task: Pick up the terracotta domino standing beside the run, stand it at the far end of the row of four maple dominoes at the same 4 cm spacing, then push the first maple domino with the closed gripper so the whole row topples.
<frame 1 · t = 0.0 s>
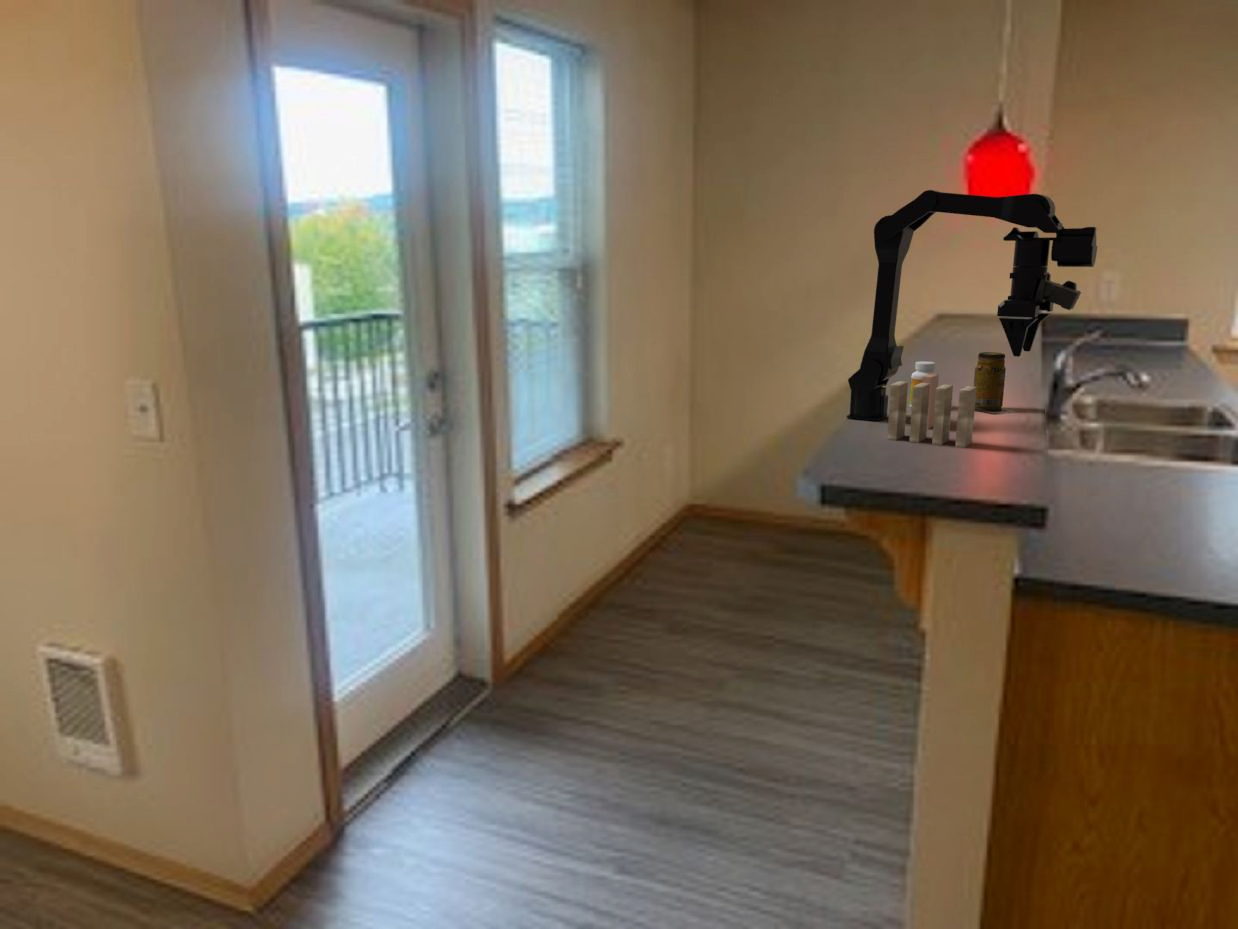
hand: (1022, 353, 169), 15 cm above the countertop, fingers open, 9 cm apart
supplement bottle: (922, 408, 199), on the countertop
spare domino: (927, 426, 178), on the countertop
domino 3: (940, 442, 164), on the countertop
domino 4: (963, 444, 162), on the countertop
condiment: (989, 411, 195), on the countertop
domino 1: (896, 437, 169), on the countertop
domino 2: (917, 439, 167), on the countertop
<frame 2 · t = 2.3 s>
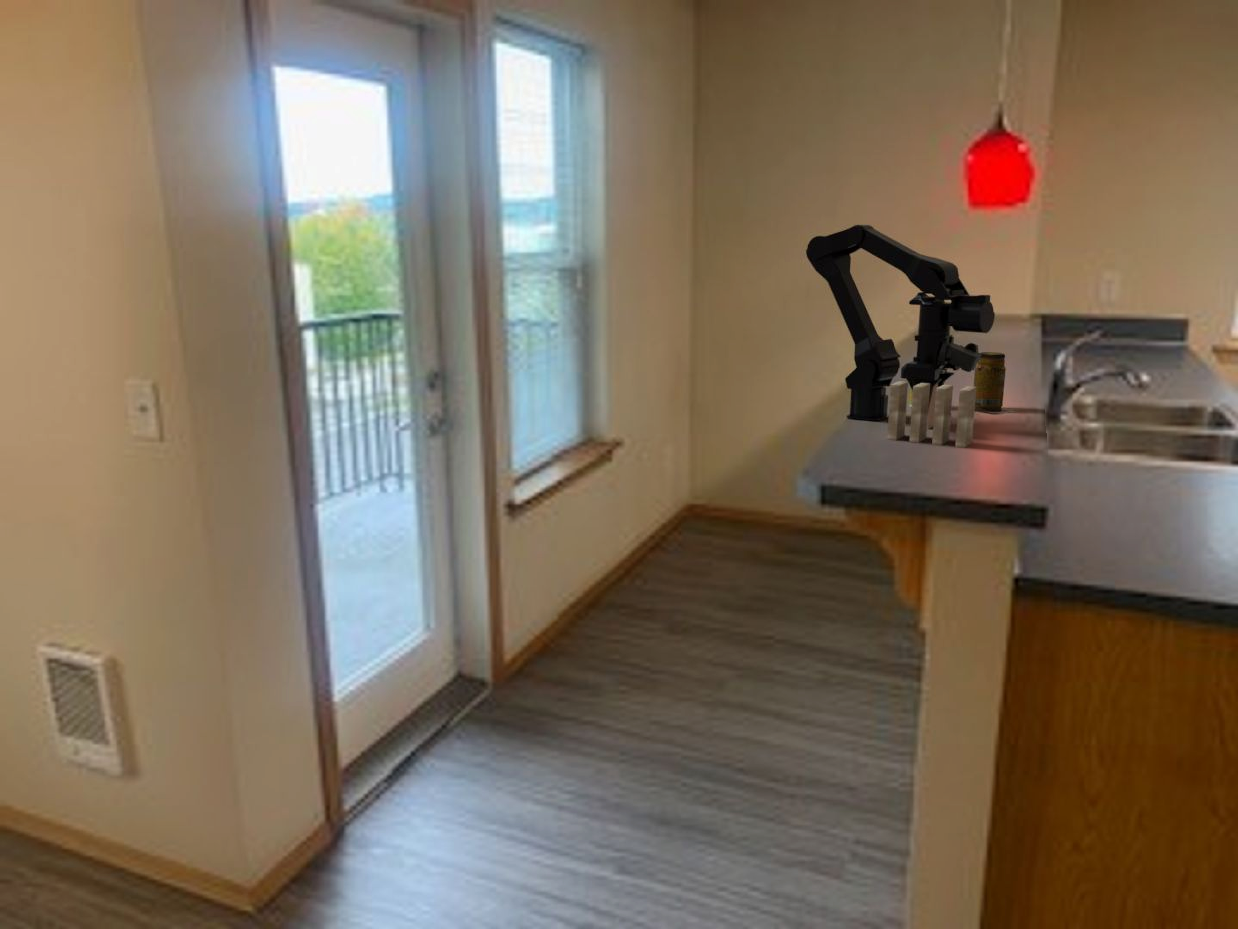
hand: (928, 411, 178), 3 cm above the countertop, fingers closed on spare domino, 5 cm apart
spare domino: (927, 426, 178), on the countertop, touching gripper
everything else where it was.
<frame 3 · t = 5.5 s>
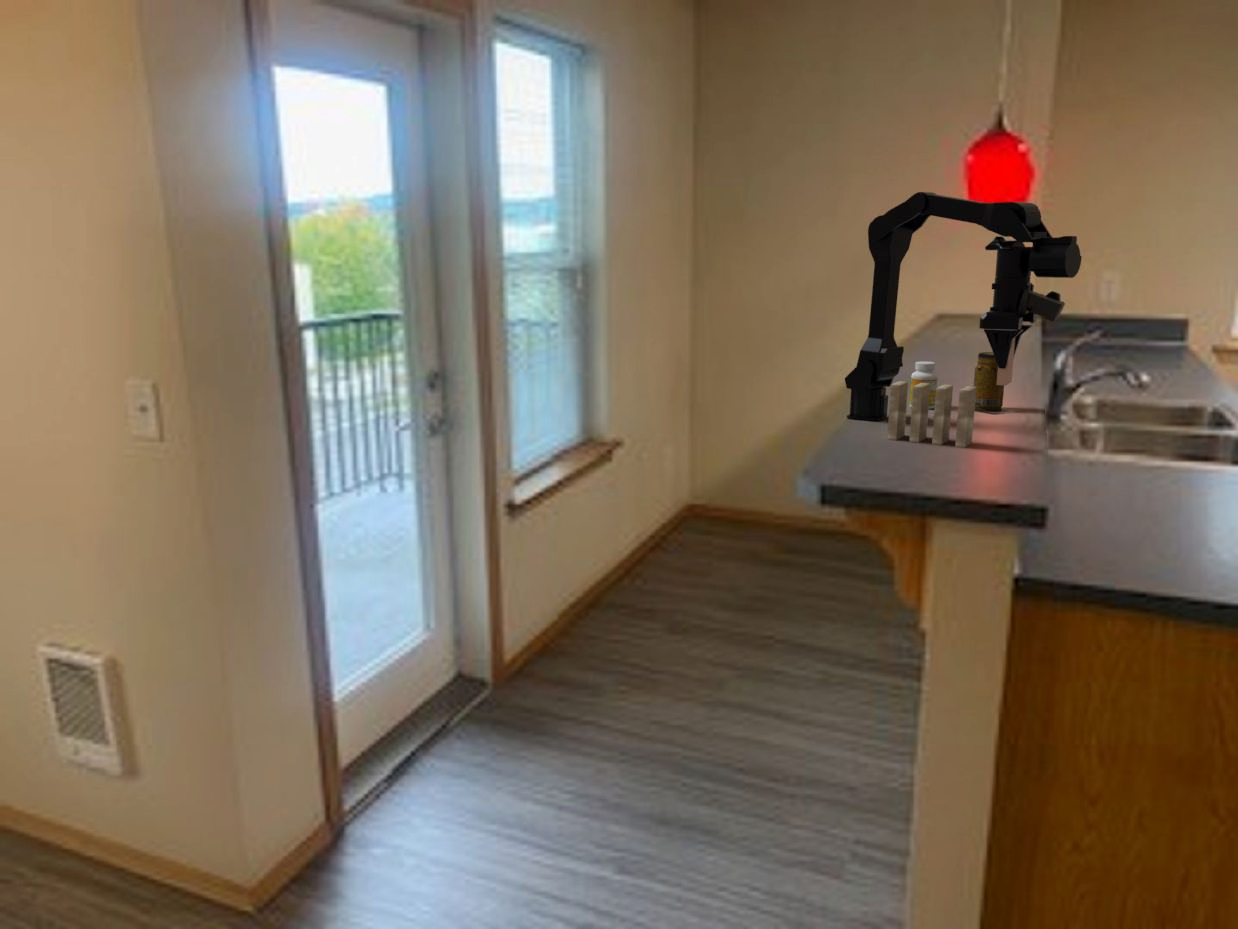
hand: (1005, 366, 163), 13 cm above the countertop, fingers closed on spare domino, 5 cm apart
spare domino: (1004, 383, 164), point 10 cm above the countertop, touching gripper
everything else where it was.
when the fingers open (4 cm above the countertop, at t = 8.7 s): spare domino stays where it is, on the countertop.
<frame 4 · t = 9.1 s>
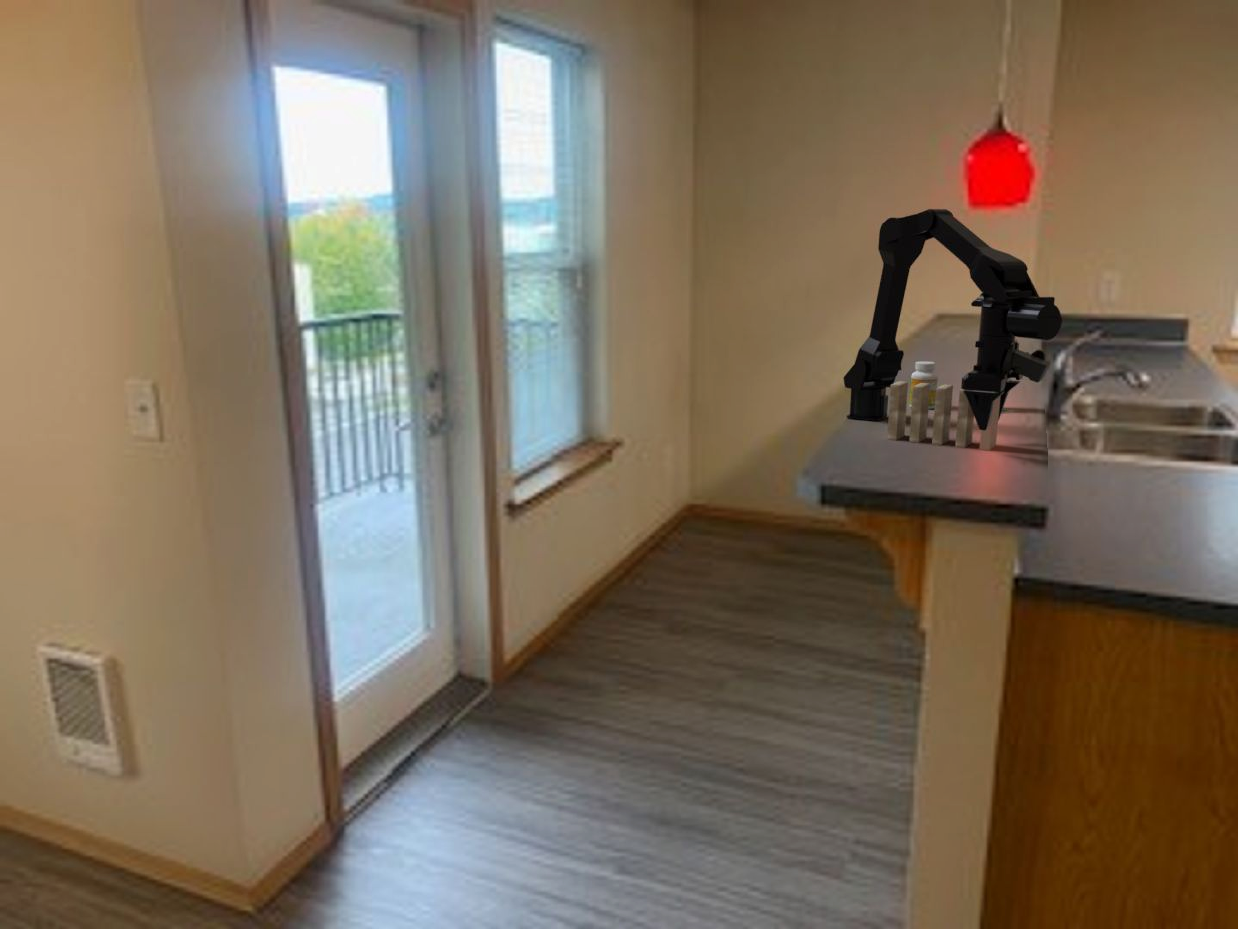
hand: (989, 425, 159), 4 cm above the countertop, fingers open, 9 cm apart
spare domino: (987, 447, 160), on the countertop
everything else where it was.
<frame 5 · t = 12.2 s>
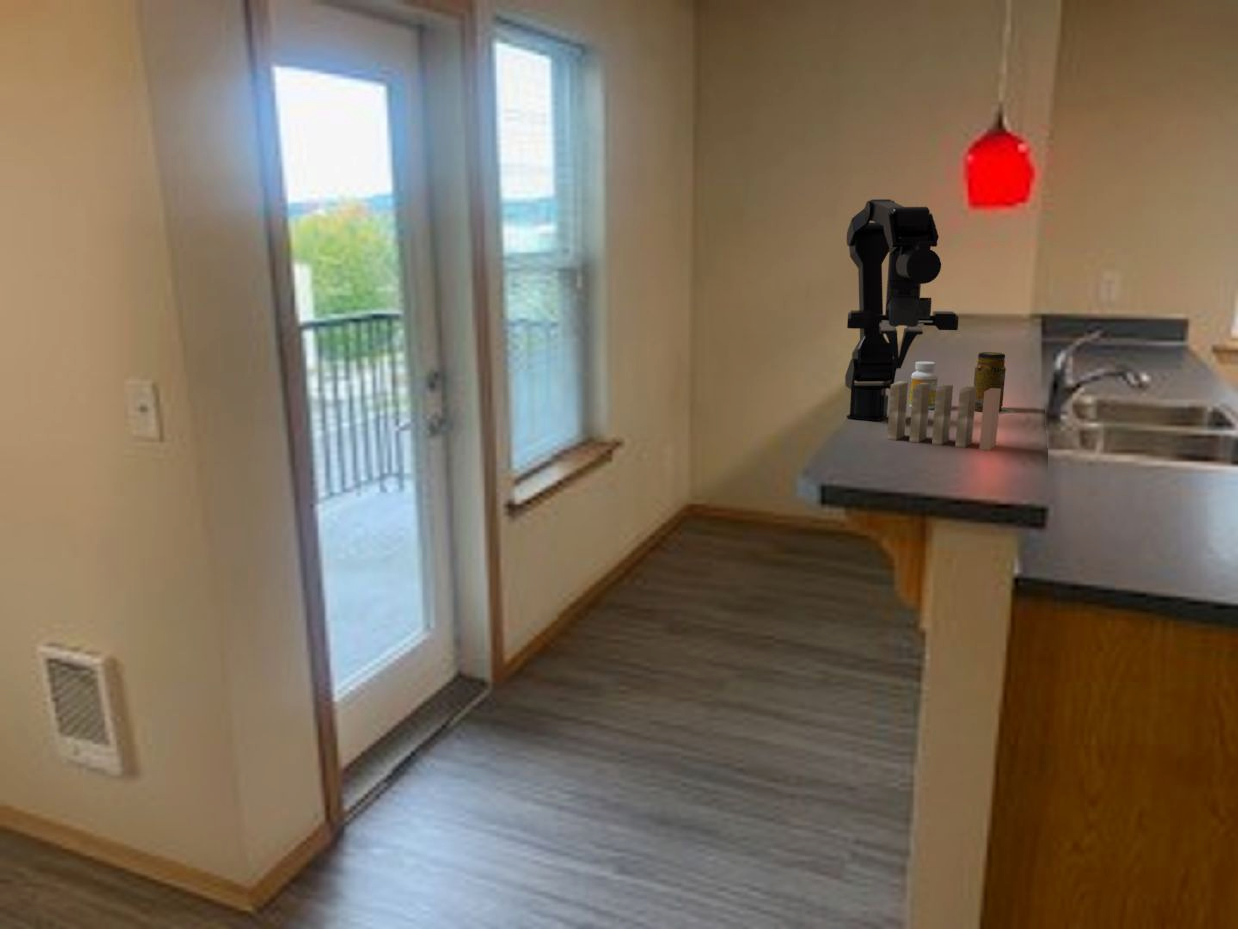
hand: (898, 368, 166), 13 cm above the countertop, fingers closed
nothing on the countertop moved.
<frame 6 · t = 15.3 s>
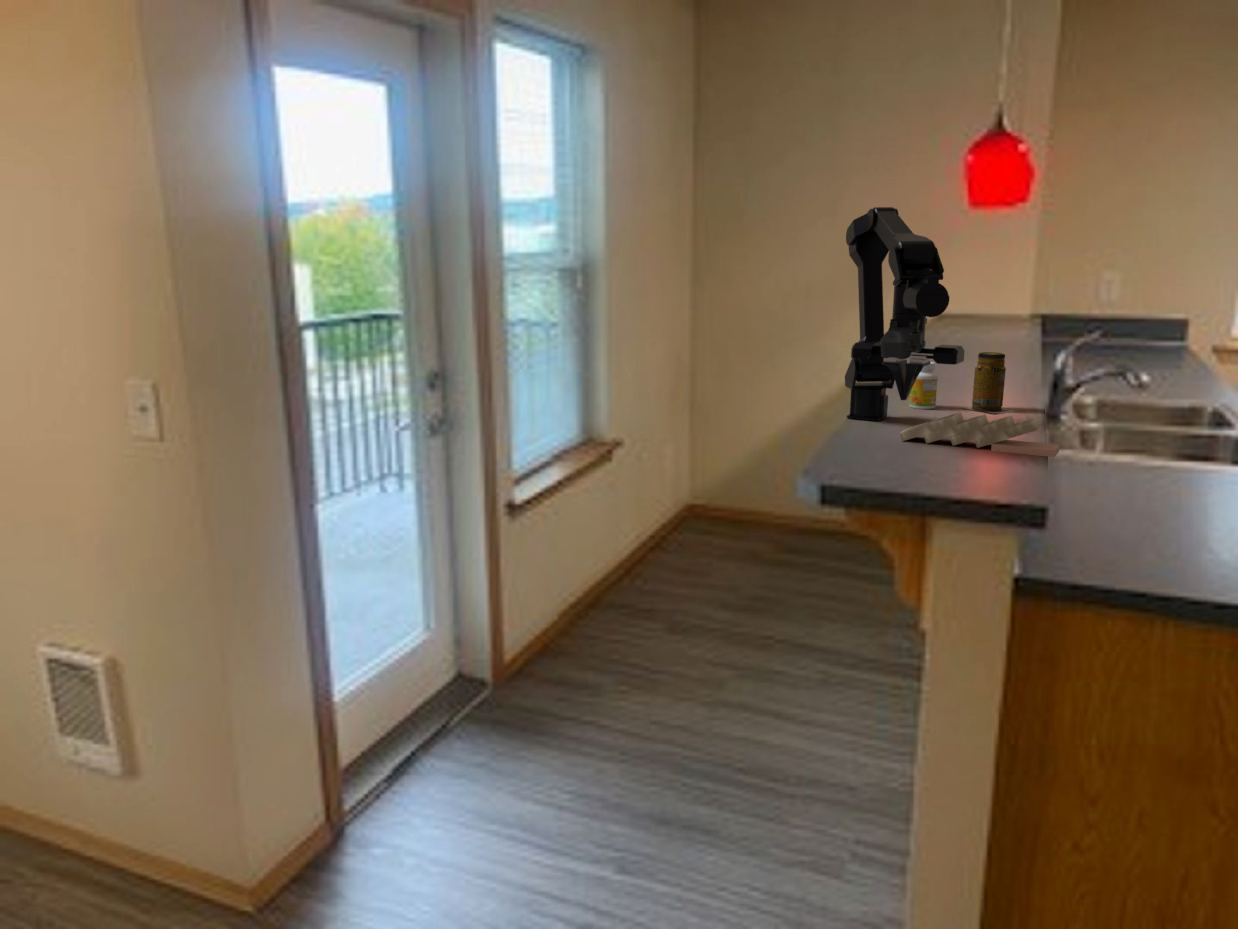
hand: (903, 399, 167), 7 cm above the countertop, fingers closed
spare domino: (994, 445, 160), on the countertop, tilted 90°, touching domino 4
domino 3: (953, 439, 163), point 1 cm above the countertop, tilted 66°, touching domino 2, domino 4
domino 4: (978, 441, 161), point 1 cm above the countertop, tilted 66°, touching domino 3, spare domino
domino 1: (904, 434, 167), point 1 cm above the countertop, tilted 67°, touching domino 2
domino 2: (928, 436, 165), point 1 cm above the countertop, tilted 67°, touching domino 1, domino 3
everything else where it was.
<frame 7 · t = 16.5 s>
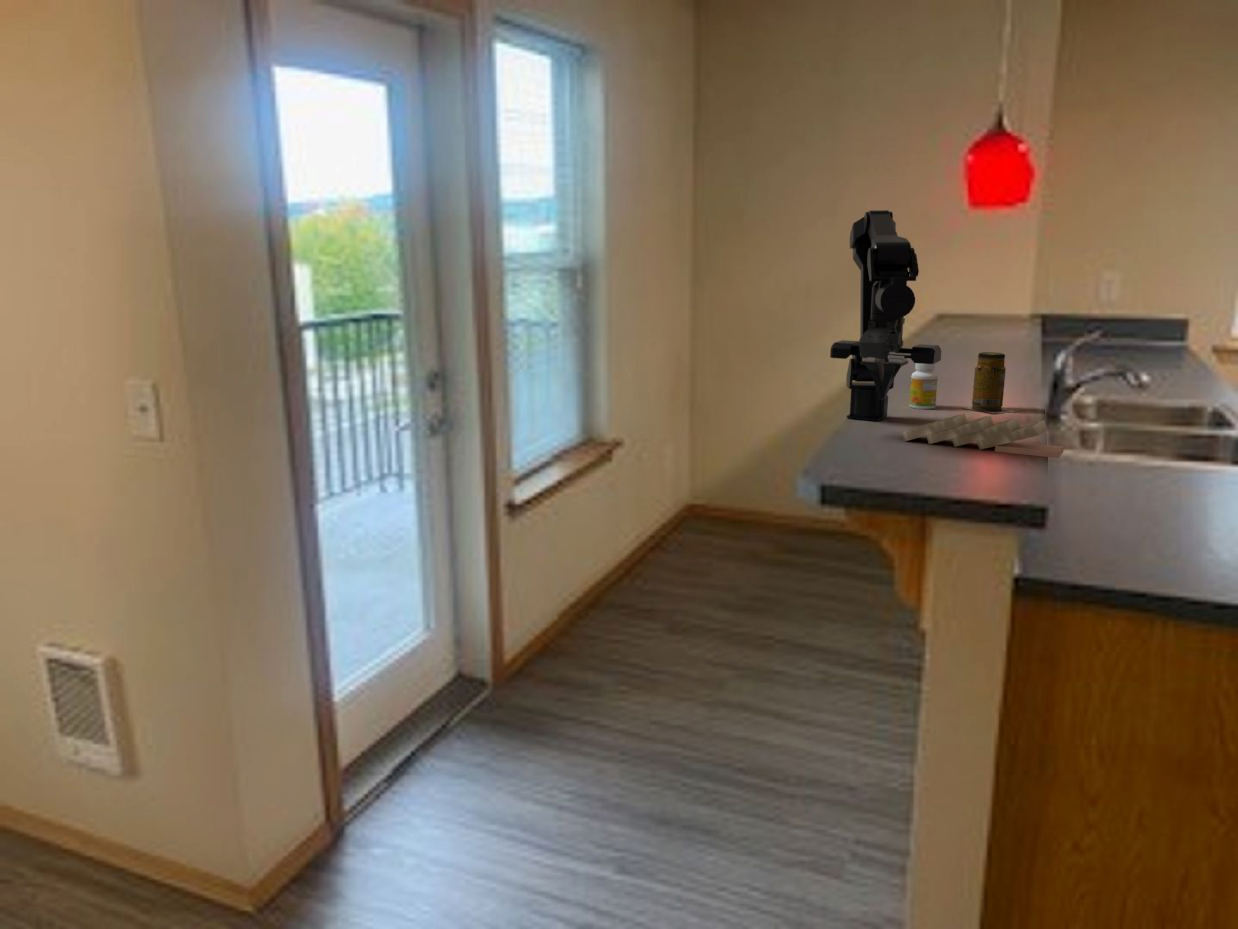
hand: (882, 398, 169), 7 cm above the countertop, fingers closed
domino 3: (957, 439, 162), point 1 cm above the countertop, tilted 68°, touching domino 4
domino 4: (983, 442, 160), point 1 cm above the countertop, tilted 68°, touching domino 3, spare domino
domino 2: (932, 437, 165), point 1 cm above the countertop, tilted 68°, touching domino 1
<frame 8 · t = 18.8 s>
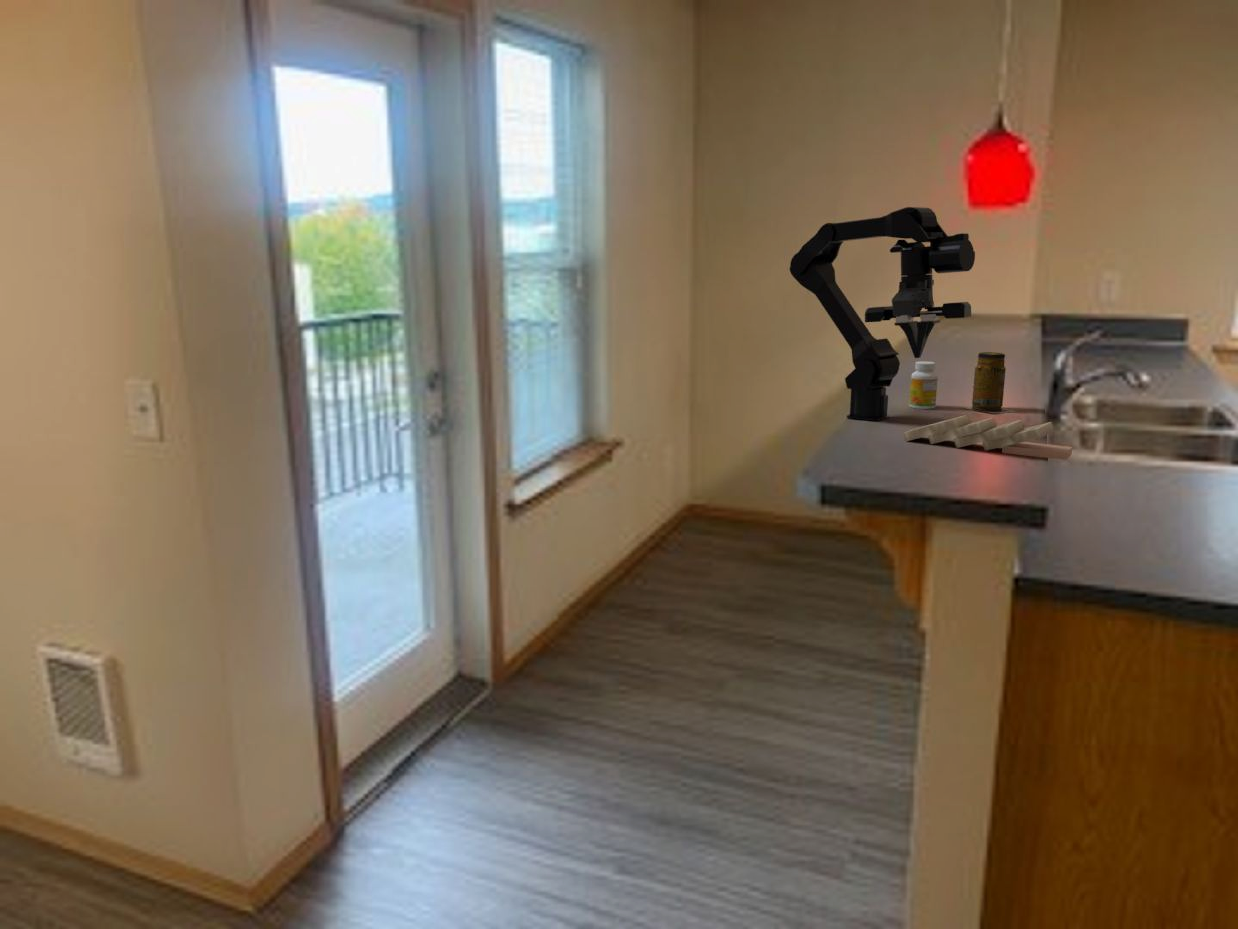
hand: (917, 357, 177), 13 cm above the countertop, fingers closed
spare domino: (1005, 447, 158), on the countertop, tilted 90°, touching domino 4
domino 3: (962, 440, 161), point 1 cm above the countertop, tilted 69°, touching domino 2, domino 4
domino 4: (990, 442, 159), point 1 cm above the countertop, tilted 69°, touching domino 3, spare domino
domino 2: (937, 437, 164), point 1 cm above the countertop, tilted 69°, touching domino 1, domino 3
at the end: domino 1 tilted 69°; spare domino tilted 90°; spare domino inside the target area (1.7 cm from its centre), on the countertop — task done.
